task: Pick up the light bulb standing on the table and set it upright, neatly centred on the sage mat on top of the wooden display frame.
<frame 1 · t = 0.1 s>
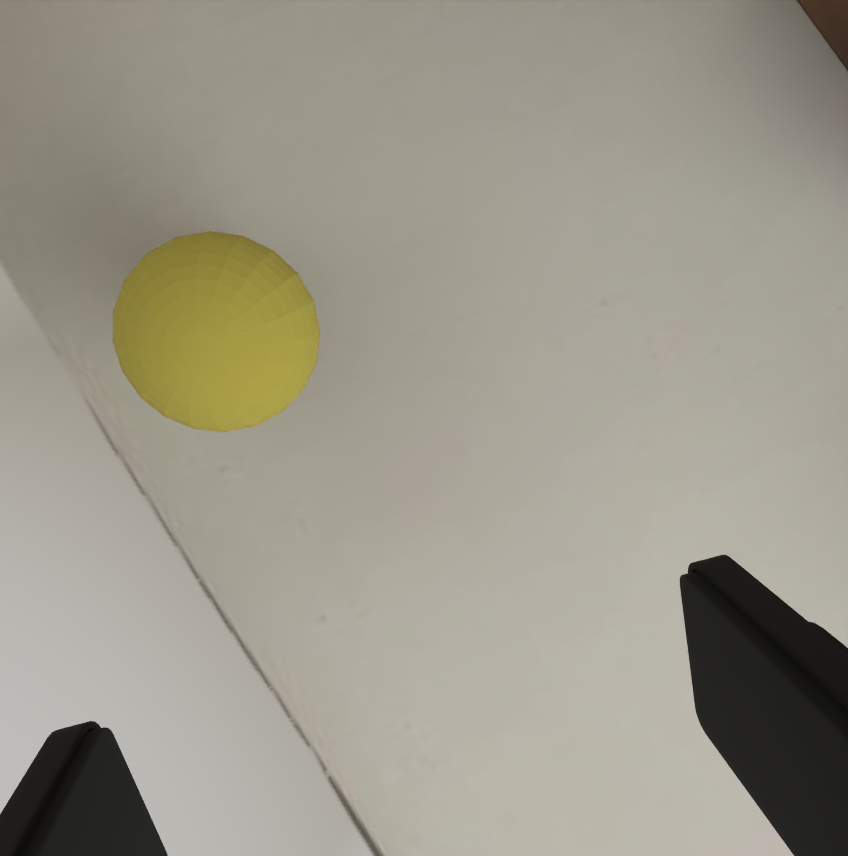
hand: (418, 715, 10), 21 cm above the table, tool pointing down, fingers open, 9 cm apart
light bulb: (250, 313, 29), on the table
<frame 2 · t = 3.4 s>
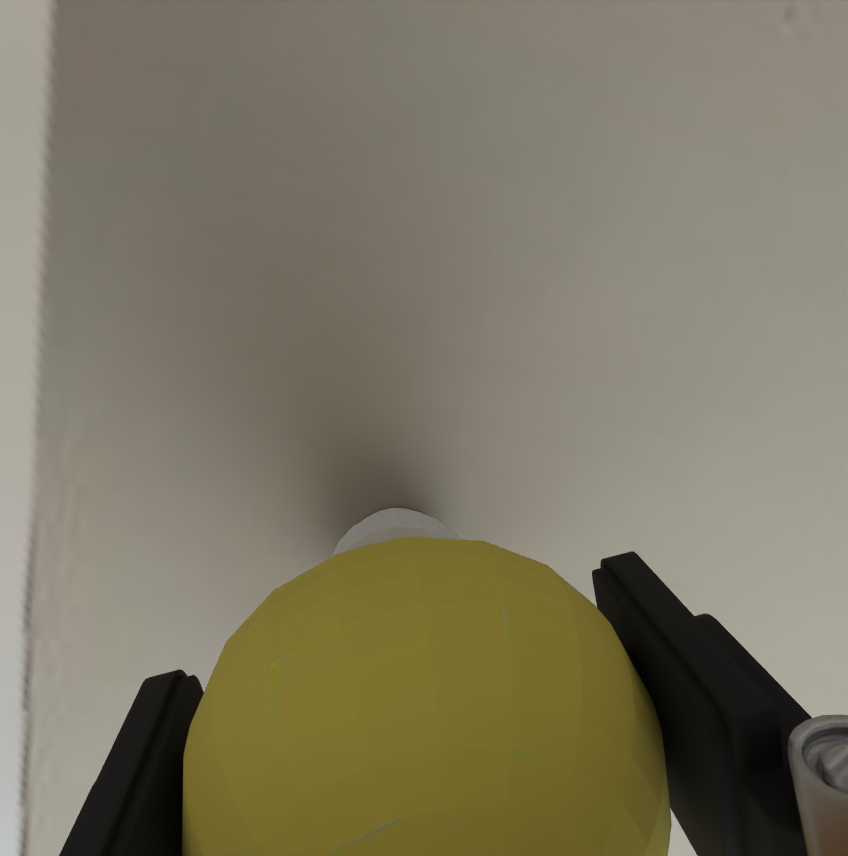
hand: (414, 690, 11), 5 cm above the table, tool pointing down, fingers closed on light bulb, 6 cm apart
light bulb: (394, 548, 16), on the table, touching gripper
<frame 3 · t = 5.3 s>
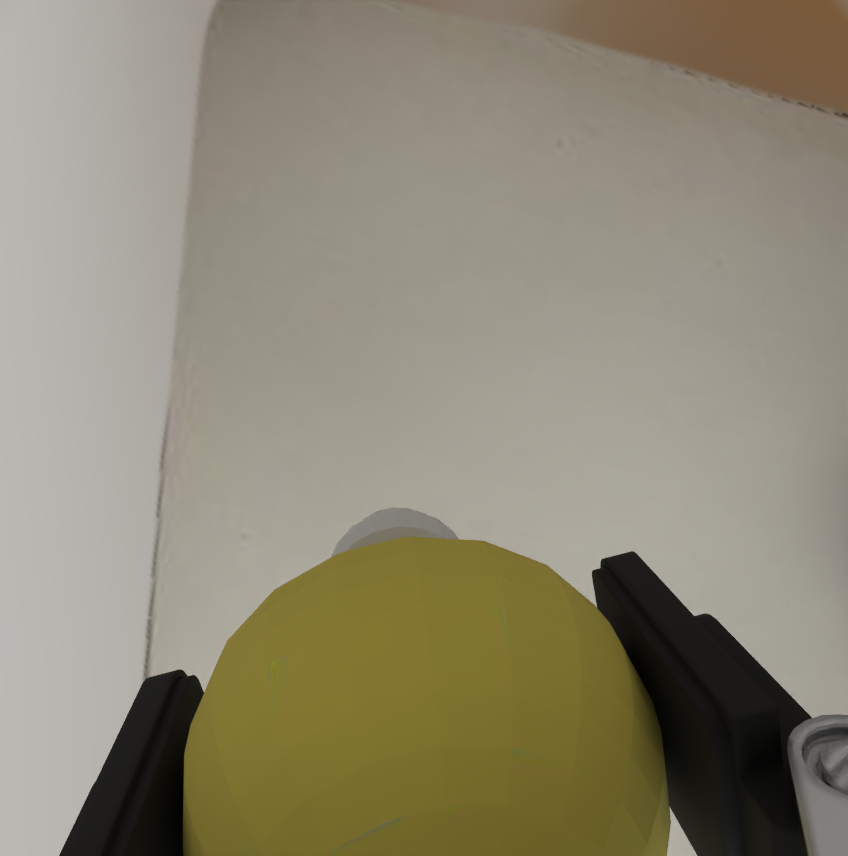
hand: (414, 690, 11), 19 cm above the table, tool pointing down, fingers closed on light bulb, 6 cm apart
light bulb: (394, 548, 16), point 13 cm above the table, touching gripper
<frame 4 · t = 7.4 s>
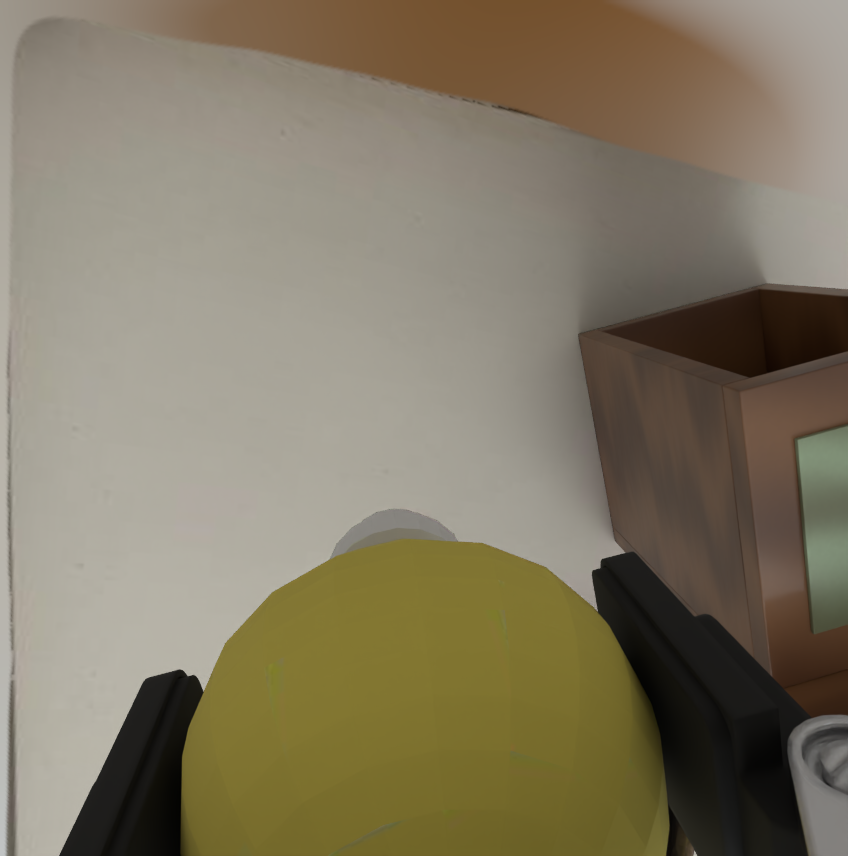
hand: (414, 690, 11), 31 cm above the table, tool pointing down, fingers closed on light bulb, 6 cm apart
light bulb: (394, 549, 16), point 26 cm above the table, touching gripper
shoe: (578, 838, 53), on the table
wooden display frame: (686, 409, 44), on the table
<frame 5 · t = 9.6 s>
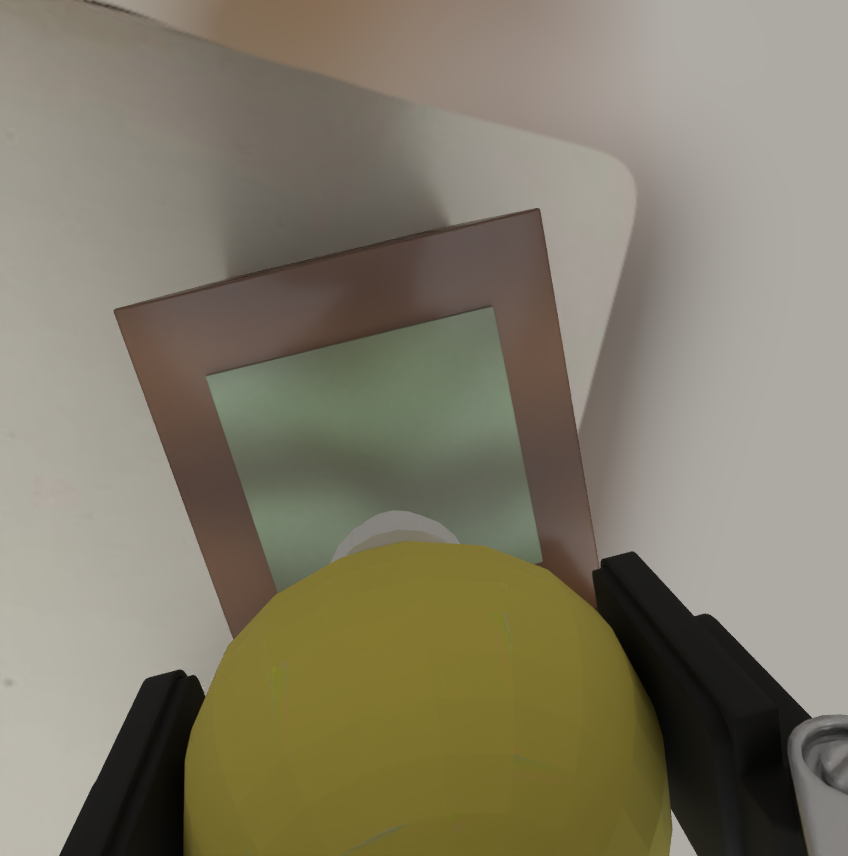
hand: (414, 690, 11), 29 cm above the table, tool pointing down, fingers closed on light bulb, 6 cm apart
light bulb: (395, 551, 16), point 23 cm above the table, touching gripper
wooden display frame: (370, 371, 38), on the table
when the fingers open (23 cm above the table, at t = 11.4 s): light bulb stays where it is, resting on wooden display frame.
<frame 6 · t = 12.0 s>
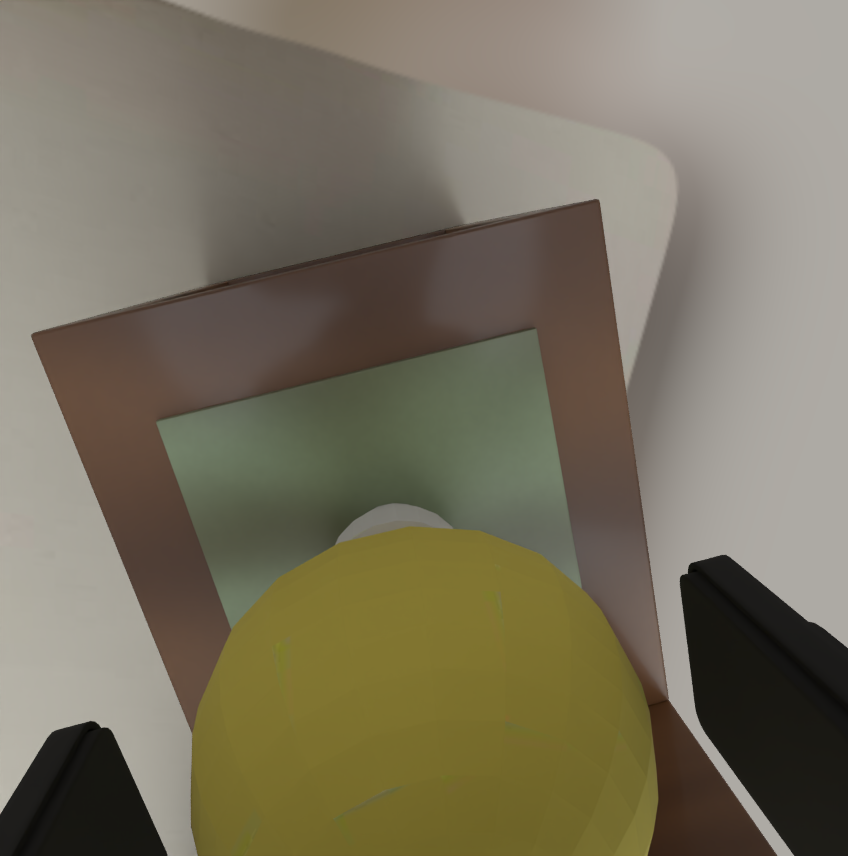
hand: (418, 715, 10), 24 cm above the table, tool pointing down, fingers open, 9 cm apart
light bulb: (394, 543, 16), point 18 cm above the table, touching wooden display frame
wooden display frame: (372, 390, 34), on the table
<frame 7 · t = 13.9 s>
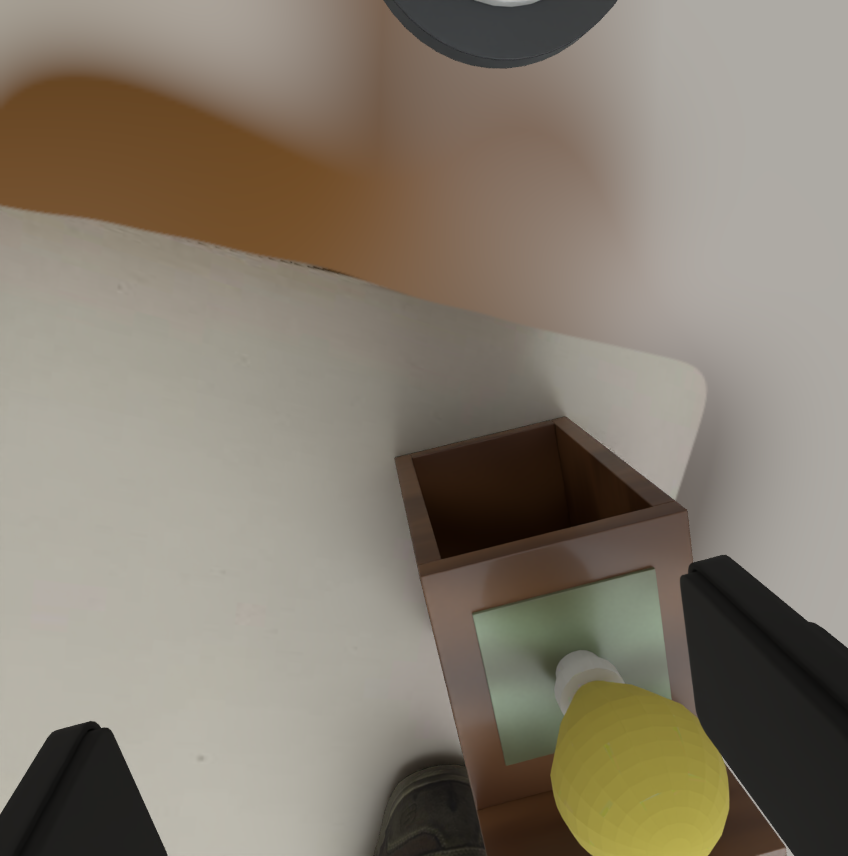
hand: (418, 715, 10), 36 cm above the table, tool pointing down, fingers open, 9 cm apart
light bulb: (577, 668, 32), point 18 cm above the table, touching wooden display frame
wooden display frame: (497, 522, 49), on the table
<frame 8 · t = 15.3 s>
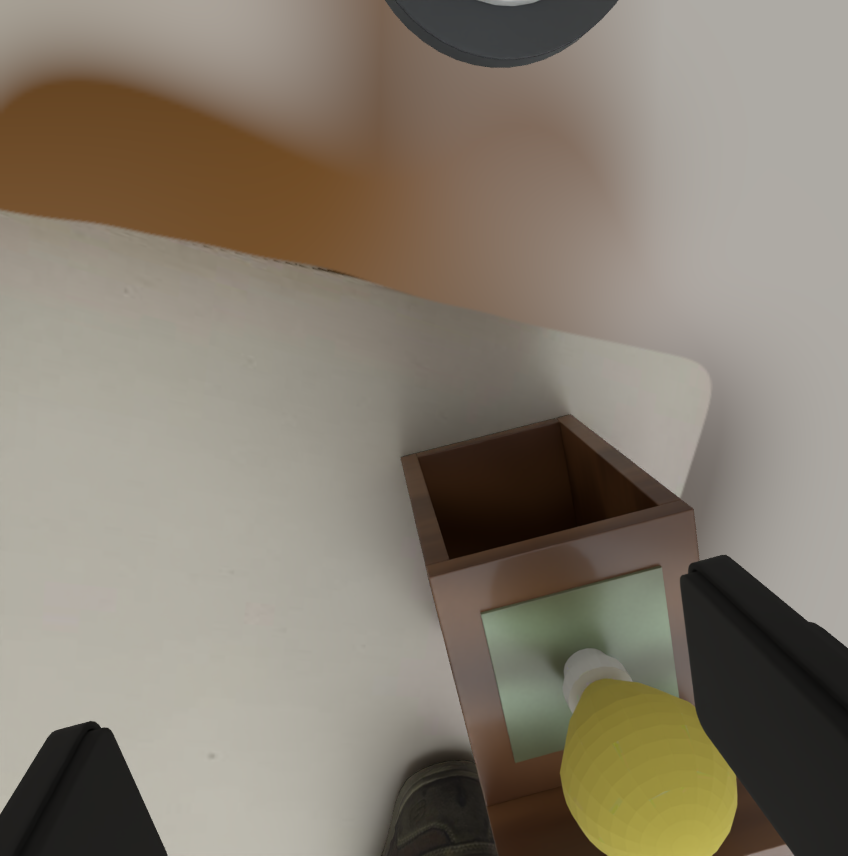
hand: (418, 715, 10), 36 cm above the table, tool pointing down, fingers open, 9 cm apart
light bulb: (585, 666, 32), point 18 cm above the table, touching wooden display frame
wooden display frame: (503, 520, 50), on the table
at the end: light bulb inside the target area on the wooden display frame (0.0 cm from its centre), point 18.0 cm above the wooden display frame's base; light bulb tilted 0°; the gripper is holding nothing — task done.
